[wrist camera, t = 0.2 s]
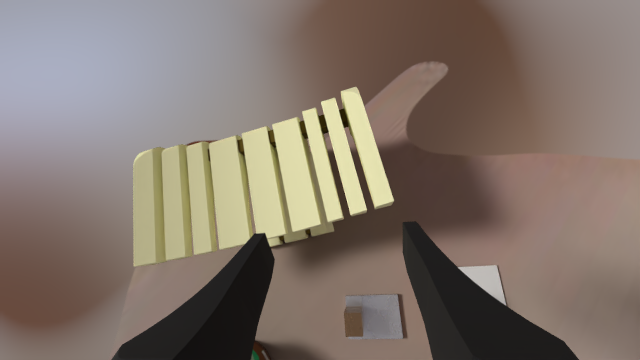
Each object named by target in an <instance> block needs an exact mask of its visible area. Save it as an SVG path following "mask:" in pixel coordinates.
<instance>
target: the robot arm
mask: <svg viewBox="0 0 640 360" xmlns="http://www.w3.org/2000/svg"><path fill="white" fill-rule="evenodd" d="M403 255H404V260H405V264H406V269H407V273H408V276H409V279H410V282H411V285H412V288H413V290H414V293H415V296H416V299H417V302H418V305H419V308H420V311H421V314H422V317H423V321H424V324H425V328H426V332H427V336H428V340H429V344H430V349H431V353H432V357H433V360H579V359H578V358H577V357H576V355H575V354H574V353H573V352H572V351H571V349H570V348H569V347H568V346H567V345H566V344H565V342H564V341H562V340H561V339H559V338H557V337H556V336H554V335H552V334H550V333H549V332H547V331H545V330H543V329H542V328H540V327H538V326H537V325H535V324H533V323H531V322H530V321H528V320H527V319H525V318H524V317H522V316H521V315H519V314H517V313H516V312H514V311H513V310H511V309H510V308H508V307H507V306H506V305H504V304H503V303H501V302H500V301H499V300H497V299H496V298H494V297H493V296H492V295H490V294H489V293H488V292H486V291H485V290H484V289H482V288H481V287H480V286H479V285H477V284H476V283H475V282H474V281H473V280H471V279H470V278H469V277H468V276H467V275H466V274H464V273H463V272H462V271H461V270H460V269H459V268H458V267H457V266H456V265H455V264H454V263H453V262H452V261H451V260H450V259H449V258H448V257H447V256H446V255H445V254H444V253H443V252H442V251H441V250H440V249H439V248H438V247H437V246H436V245H435V244H434V242H433V241H432V240H431V239H430V238H429V237H428V236H427V234H426V233H425V232H424V231H423V229H422V228H421V227H420V225H419V224H418V223H417V222H416V221H415V222H403ZM274 260H275V259H274V256H273V254H272V251H271V248H270V245H269V243H268V240H267V237H266V234H265V233H257V234H254V235H253V236H252V237H251V238H250V239H249V240H248V241H247V242H246V244H245V245H244V246H243V247H242V248H241V249H240V250H239V252H238V253H237V254H236V255H235V256H234V257H233V258H232V259H231V260H230V262H229V263H228V264H227V265H226V266H225V267H224V268H223V269H222V270H221V271H220V272H219V273H218V274H217V275H216V276H215V277H214V278H213V279H212V280H211V281H210V282H209V283H208V284H207V285H206V286H204V287H203V288H202V289H201V290H200V291H199V292H198V293H196V294H195V295H194V296H193V297H192V298H190V299H189V300H188V301H187V302H185V303H184V304H183V305H181V306H180V307H179V308H178V309H176V310H175V311H174V312H172V313H171V314H170V315H168V316H167V317H165V318H164V319H162V320H161V321H159V322H158V323H157V324H155V325H154V326H152V327H151V328H149V329H147V330H146V331H144V332H143V333H141V334H139V335H138V336H136V337H134V338H133V339H131V340H129V341H128V342H126V343H124V344H123V345H121V347H120V348H119V350H118V351H117V353H116V354H115V355H114V357H113V358H112V360H251V357H252V351H253V346H254V341H255V336H256V331H257V326H258V322H259V318H260V315H261V312H262V309H263V305H264V302H265V299H266V295H267V292H268V289H269V285H270V282H271V278H272V273H273V267H274Z"/></svg>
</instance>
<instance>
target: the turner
mask: <svg viewBox="0 0 640 360" xmlns="http://www.w3.org/2000/svg"><path fill="white" fill-rule="evenodd" d="M345 297H346V309H345V312H344V319H345V332H346V337H349V339H403V333H402V326H401V318H400V310H399V302H398V295H397V294H375V295H346V296H345Z"/></svg>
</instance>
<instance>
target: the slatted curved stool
mask: <svg viewBox="0 0 640 360" xmlns="http://www.w3.org/2000/svg"><path fill="white" fill-rule="evenodd" d="M341 97H342V104H343V109H341V110H338V106H337V103H336V99H335V98H332V99H329V100H326V101H322V102H321V104H322V107H323V112H324V115H321V116H319V115H318V113H317V110H316V108H313V109H310V110H306V111H303V112H302V113H303V117H304V121H300V119H299V118H298V117H296V118H293V119H289V120H286V121H283V122H280V123H276V124H273V125H272V126H273V130H271V129H270V128H269V127H268V126H266V127H262V128H259V129H256V130H253V131H249V132H246V133H243V134H242V138H241V137H240V136H238V135H236V136H232V137H229V138H226V139H223V140H219V141H216V142H213V143H210V144H209V143H208V142H200V143H197V144H193V145H190V146H187V145H183V144H181V145H177V146H174V147H171V148H167V149H165V148H161V147H157V148H154V149H150V150H147V151H144V152H141V153H140V154H138V156H137V157H136V159H135V161H134V165H133V210H134V211H133V217H134V218H133V224H134V225H133V226H134V267H135V266H147V265H155V264H159V263H163V262H167V260H179V259H183V258H187V257H191V256H192V239H191V218H192V231H193V245H194V255H200V254H207V253H211V252H215V251H217V246H216V234H215V218H214V199H215V209H216V219H217V229H218V238H219V248H220V249H231V248H235V247H239V246H243V245H245V244H246V242H247V241H248V240H249V239H250V238H251V237H252V236H253V231H252V223H251V215H250V205H249V192H248V180H249V186H250V193H251V200H252V206H253V213H254V220H255V227H256V234H257V233H265V234H266V237H267V240H268V243H269V245H270V247H273V246H277V245H281V244H283V241H284V240H285V243H289V242H293V241H297V240H302V239H306V238H308V234H311V236H318V235H322V234H326V233H330V232H334V227H333V223H332V222H335V221H339V220H343V219H344V217H343V213H342V209H341V205H340V201H339V197H338V193H337V189H336V185H335V181H334V177H333V173H332V168H331V164H330V160H329V156H328V151H327V146H326V142H325V138H324V134H325V133H328V132H329V135H330V138H331V142H332V146H333V150H334V154H335V158H336V161H337V165H338V169H339V173H340V177H341V180H342V184H343V188H344V192H345V196H346V199H347V203H348V207H349V211H350V215H351V216H355V215H359V214H363V213H367V208H366V205H365V201H364V198H363V194H362V191H361V187H360V184H359V180H358V177H357V173H356V170H355V166H354V163H353V159H352V155H351V152H350V148H349V145H348V141H347V138H346V134H345V131H344V128H345V127H349V130H350V134H351V136H352V137H353V139H354V142H355V145H356V148H357V151H358V154H359V158H360V161H361V164H362V168H363V171H364V174H365V177H366V181H367V184H368V188H369V191H370V194H371V198H372V201H373V204H374V208H375V209H378V208H382V207H386V206H390V205H392V203H393V202H394V199H393V196H392V193H391V190H390V187H389V183H388V180H387V177H386V174H385V171H384V168H383V165H382V162H381V158H380V155H379V152H378V149H377V146H376V143H375V140H374V136H373V133H372V130H371V127H370V124H369V121H368V118H367V115H366V111H365V108H364V105H363V102H362V99H361V96H360V93H359V91H358V89H357V88H356V87H354V88H350V89H347V90H344V91H341ZM307 138H308V139H309V143H310V148H311V152H312V153H311V152H310V150H309V146H308V141H307Z"/></svg>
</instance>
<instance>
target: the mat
mask: <svg viewBox="0 0 640 360" xmlns="http://www.w3.org/2000/svg"><path fill="white" fill-rule="evenodd" d="M458 268H459V269H460V270H461V271H462V272H463V273H464V274H466V275H467V276H468V277H469V278H470V279H471V280H473V281H474V282H475V283H476V284H477V285H479V286H480V287H481V288H482V289H484V290H485V291H486V292H488V293H489V294H490V295H492V296H493V297H494V298H496V299H497V300H499V301H500V302H501V303H503V304H504V305H506V303H505V298H504V294H503V290H502V286H501V281H500V277H499V273H498V269H497V265H491V266H470V267H458Z"/></svg>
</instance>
